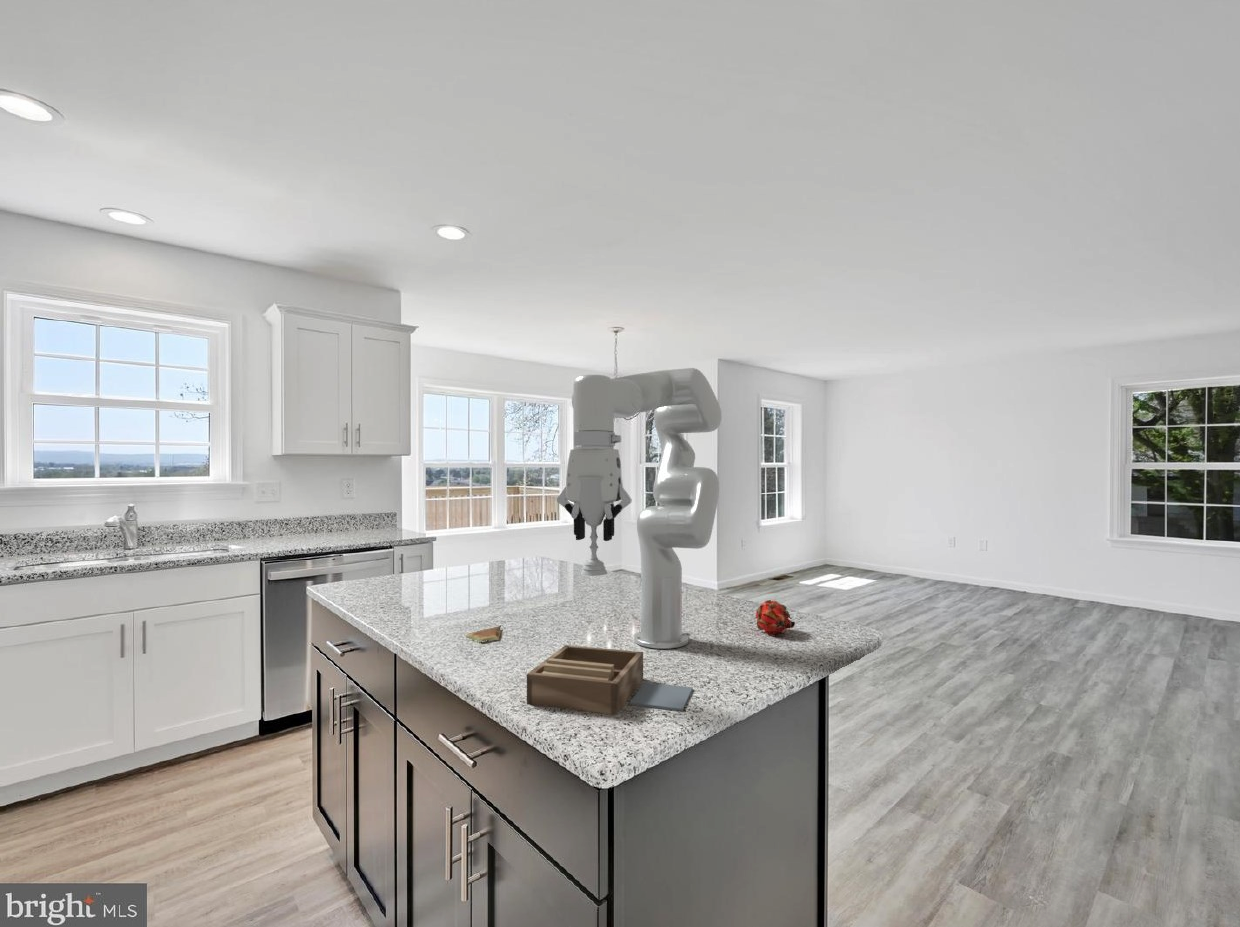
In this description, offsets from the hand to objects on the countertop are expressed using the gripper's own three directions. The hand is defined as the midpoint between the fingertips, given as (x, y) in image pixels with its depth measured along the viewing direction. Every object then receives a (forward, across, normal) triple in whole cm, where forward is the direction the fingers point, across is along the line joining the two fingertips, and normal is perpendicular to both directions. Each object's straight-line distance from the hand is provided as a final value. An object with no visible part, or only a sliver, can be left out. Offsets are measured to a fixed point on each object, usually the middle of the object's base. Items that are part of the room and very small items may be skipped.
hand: (594, 538), depth 108 cm
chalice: (+7, 0, 0) cm, 7 cm away
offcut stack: (+27, 0, +9) cm, 28 cm away
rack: (+27, 0, +3) cm, 27 cm away
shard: (+28, +36, -23) cm, 51 cm away
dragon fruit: (+28, -31, -46) cm, 62 cm away
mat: (+27, -13, +2) cm, 30 cm away
